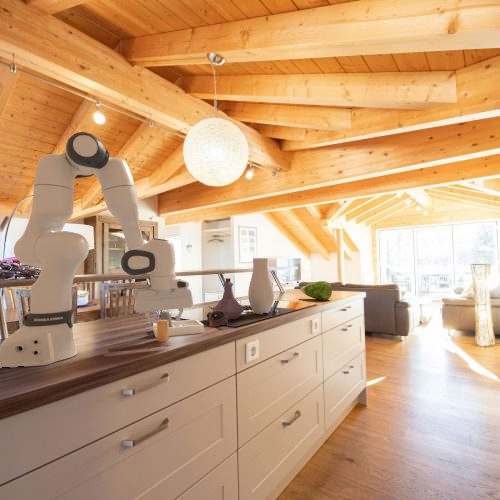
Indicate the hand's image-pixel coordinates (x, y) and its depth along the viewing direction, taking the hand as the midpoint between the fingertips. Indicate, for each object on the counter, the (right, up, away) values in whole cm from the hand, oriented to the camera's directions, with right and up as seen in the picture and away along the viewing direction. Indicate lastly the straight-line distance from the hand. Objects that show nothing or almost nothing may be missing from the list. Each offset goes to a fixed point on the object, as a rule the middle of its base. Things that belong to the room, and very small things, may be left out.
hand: (164, 322), depth 117 cm
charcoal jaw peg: (-2, -7, +11) cm, 13 cm away
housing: (+2, -8, +13) cm, 15 cm away
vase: (+37, -9, +59) cm, 70 cm away
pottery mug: (+16, -8, +27) cm, 32 cm away
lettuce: (+77, -10, +116) cm, 140 cm away
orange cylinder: (0, -7, -1) cm, 7 cm away
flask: (+20, -9, +47) cm, 52 cm away
